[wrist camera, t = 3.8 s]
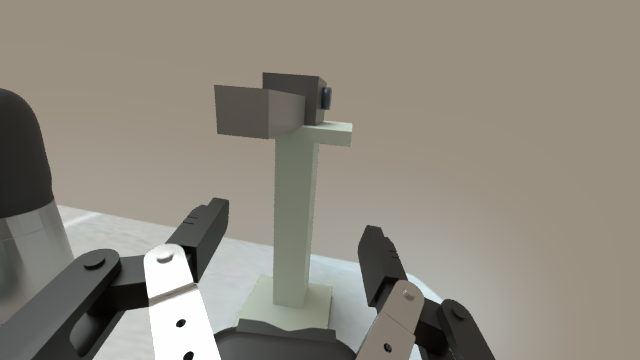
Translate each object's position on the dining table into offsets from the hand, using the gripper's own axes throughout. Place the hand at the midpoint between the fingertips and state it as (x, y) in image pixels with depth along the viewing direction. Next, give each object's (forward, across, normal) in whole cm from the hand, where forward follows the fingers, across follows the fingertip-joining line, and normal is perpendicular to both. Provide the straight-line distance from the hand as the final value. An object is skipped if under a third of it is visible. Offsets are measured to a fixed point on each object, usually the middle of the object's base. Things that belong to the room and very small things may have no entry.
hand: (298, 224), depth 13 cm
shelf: (+13, +3, -30) cm, 33 cm away
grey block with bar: (+13, -3, +2) cm, 13 cm away
